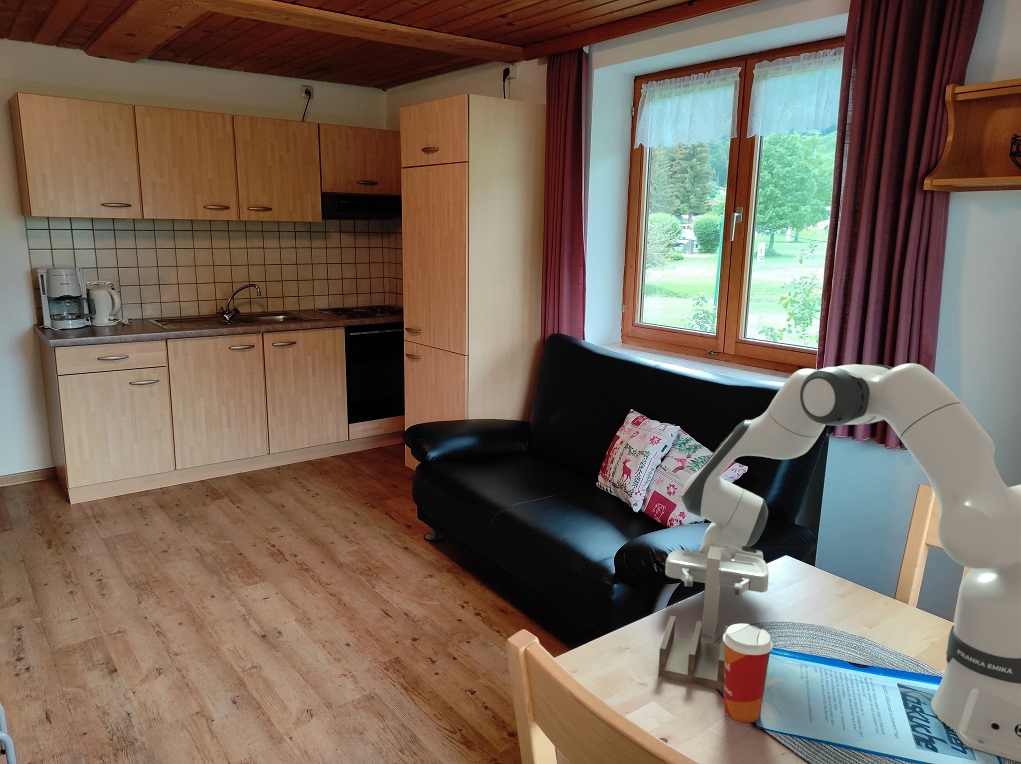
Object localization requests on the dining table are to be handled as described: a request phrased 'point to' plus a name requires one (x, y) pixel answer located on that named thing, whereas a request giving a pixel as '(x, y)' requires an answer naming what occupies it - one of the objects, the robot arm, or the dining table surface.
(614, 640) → the dining table surface
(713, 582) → the strip
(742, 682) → the paper cup
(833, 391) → the robot arm
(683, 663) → the rack
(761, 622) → the dining table surface
